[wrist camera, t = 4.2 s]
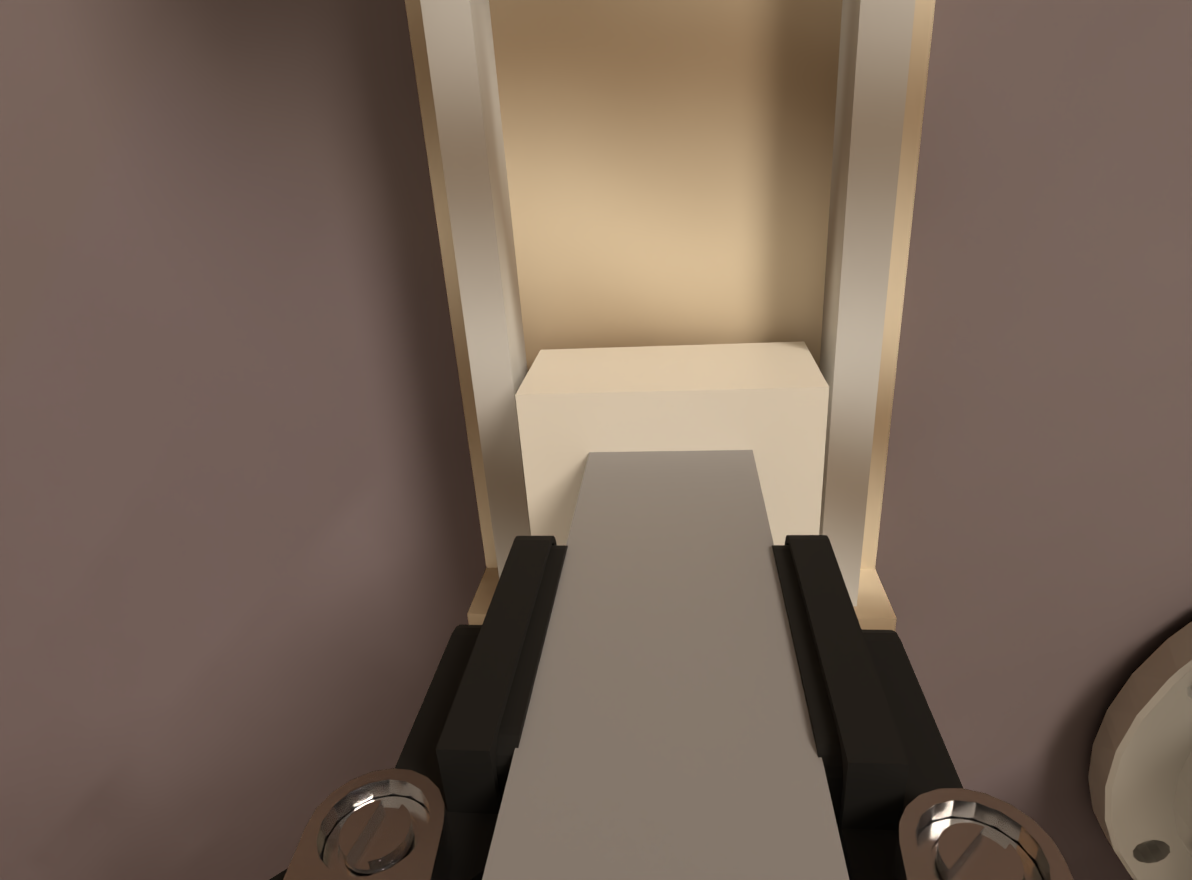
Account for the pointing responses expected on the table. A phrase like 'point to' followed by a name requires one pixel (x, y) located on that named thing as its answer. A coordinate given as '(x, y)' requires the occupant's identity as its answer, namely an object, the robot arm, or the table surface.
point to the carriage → (670, 620)
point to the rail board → (676, 210)
